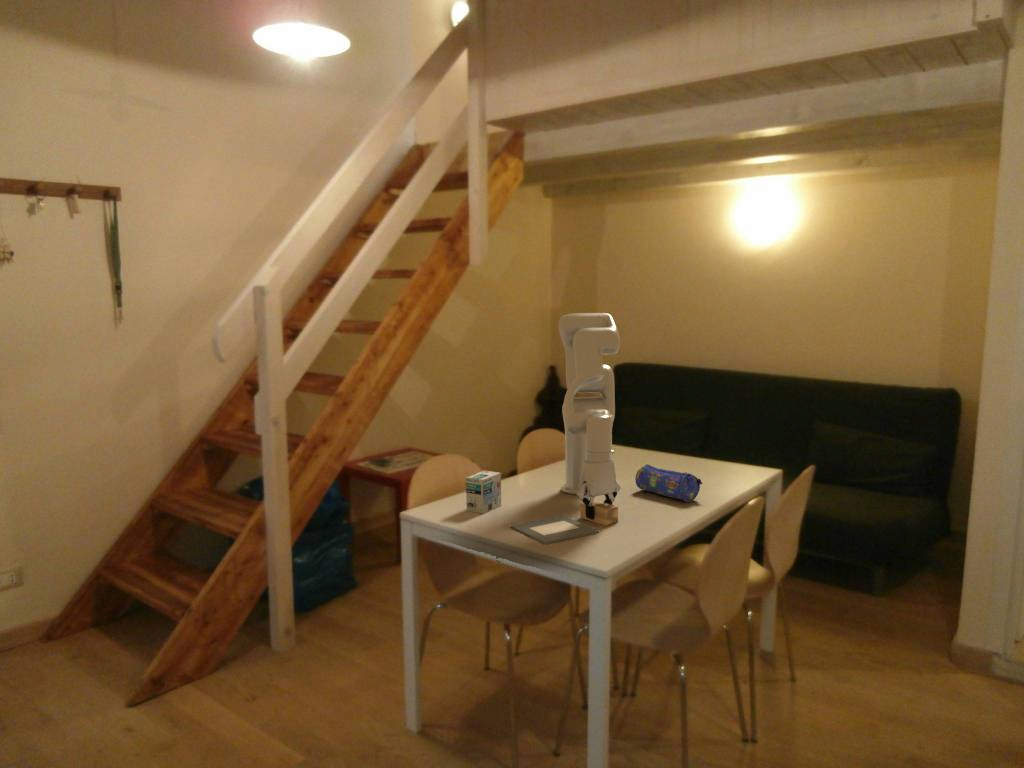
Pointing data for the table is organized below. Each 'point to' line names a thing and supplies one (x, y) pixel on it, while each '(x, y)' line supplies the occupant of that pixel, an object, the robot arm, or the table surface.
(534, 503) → the table surface
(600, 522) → the tan rectangular block
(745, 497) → the table surface
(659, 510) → the table surface
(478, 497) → the light bulb box
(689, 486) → the pencil case
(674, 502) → the table surface
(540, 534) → the mat
